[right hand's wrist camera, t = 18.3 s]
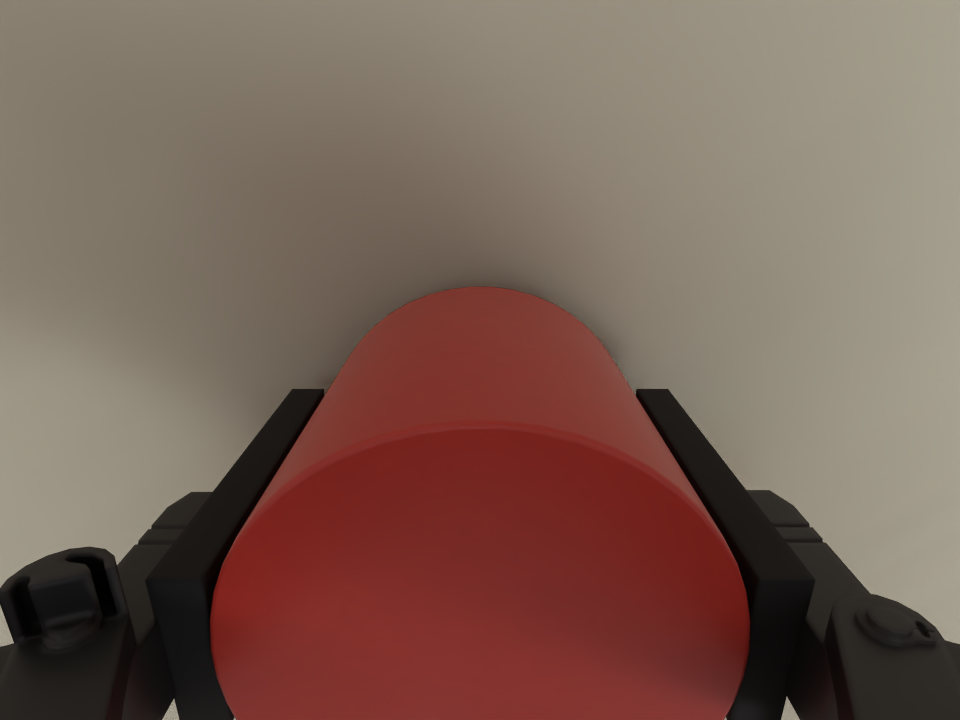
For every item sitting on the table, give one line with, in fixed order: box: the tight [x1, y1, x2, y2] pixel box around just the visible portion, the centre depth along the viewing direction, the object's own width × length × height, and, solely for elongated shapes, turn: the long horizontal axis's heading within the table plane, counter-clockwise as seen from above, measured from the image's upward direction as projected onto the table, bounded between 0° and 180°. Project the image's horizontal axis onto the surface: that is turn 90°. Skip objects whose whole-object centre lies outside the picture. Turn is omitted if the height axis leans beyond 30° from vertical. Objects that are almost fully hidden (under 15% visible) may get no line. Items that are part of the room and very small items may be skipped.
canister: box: [210, 287, 750, 720], centre depth 11 cm, size 8×8×7 cm
